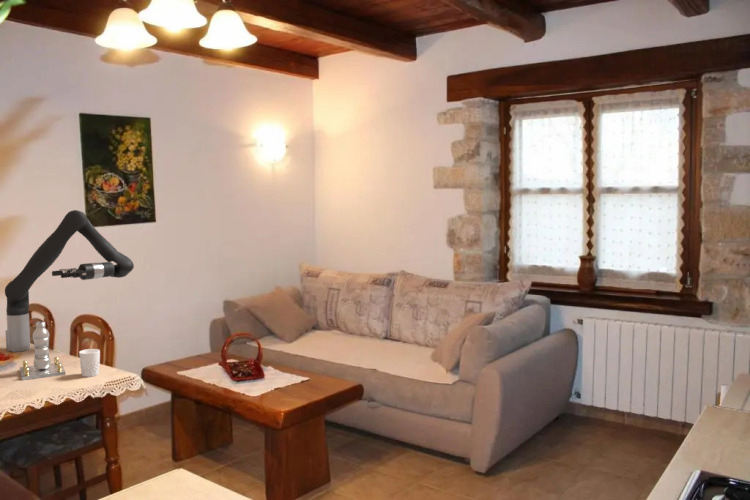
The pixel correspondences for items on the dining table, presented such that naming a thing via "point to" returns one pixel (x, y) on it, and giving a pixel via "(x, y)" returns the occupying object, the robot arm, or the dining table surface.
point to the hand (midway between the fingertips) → (56, 274)
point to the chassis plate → (41, 370)
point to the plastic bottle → (41, 346)
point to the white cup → (89, 362)
